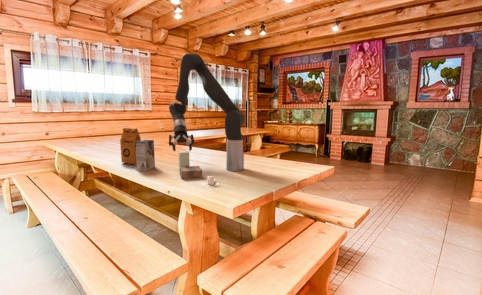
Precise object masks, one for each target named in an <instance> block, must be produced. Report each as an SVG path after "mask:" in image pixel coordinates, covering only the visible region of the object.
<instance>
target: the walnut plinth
mask: <svg viewBox="0 0 482 295" xmlns="http://www.w3.org/2000/svg"><path fill="white" fill-rule="evenodd" d="M179 175H180V178H181V180H192V179H193V180H195V179H203V169H202V168H201V167H200V166H199V165H191V166H190V165H189V167H180V171H179Z"/></svg>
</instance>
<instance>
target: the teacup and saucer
mask: <svg viewBox="0 0 482 295" xmlns="http://www.w3.org/2000/svg"><path fill="white" fill-rule="evenodd" d="M206 179H207V181H205V182H202V183H201V185H202V186H203V187H207V188H212V187H218V186H219V185H220V183H219V182H218V181H217V179H216V178H215V176H214V175H208V176H207V177H206ZM205 184H207V185H205ZM214 184H216V185H214Z"/></svg>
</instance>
